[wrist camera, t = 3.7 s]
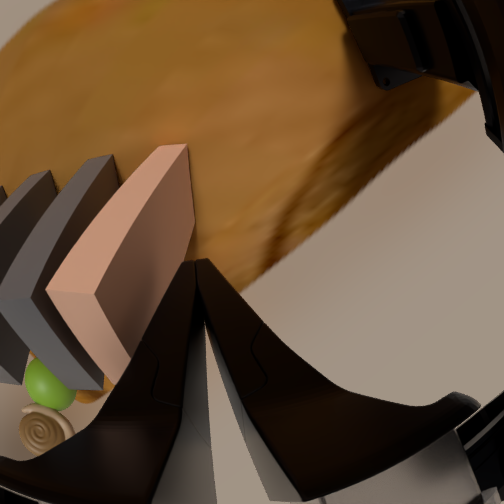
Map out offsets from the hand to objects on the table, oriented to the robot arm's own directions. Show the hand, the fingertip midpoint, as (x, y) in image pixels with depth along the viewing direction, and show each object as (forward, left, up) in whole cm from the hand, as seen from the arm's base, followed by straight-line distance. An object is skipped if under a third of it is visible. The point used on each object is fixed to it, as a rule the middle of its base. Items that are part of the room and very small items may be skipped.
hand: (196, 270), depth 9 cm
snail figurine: (+21, +5, -7) cm, 23 cm away
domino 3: (0, 0, -7) cm, 7 cm away
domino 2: (+4, -2, -7) cm, 8 cm away
